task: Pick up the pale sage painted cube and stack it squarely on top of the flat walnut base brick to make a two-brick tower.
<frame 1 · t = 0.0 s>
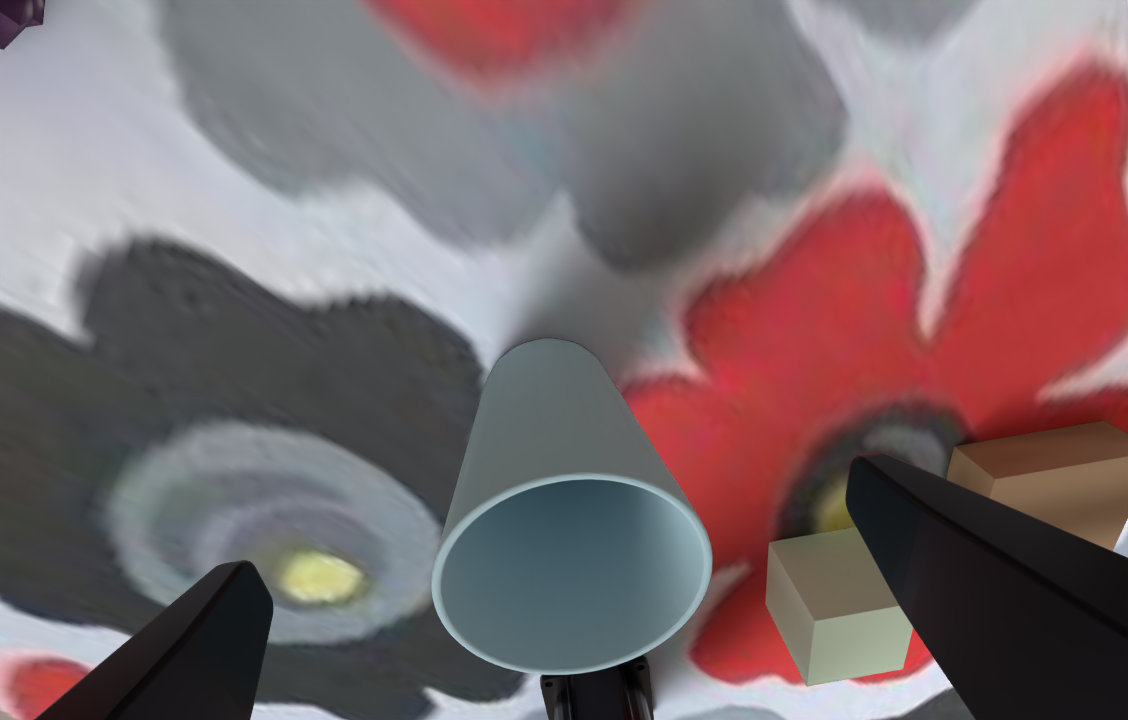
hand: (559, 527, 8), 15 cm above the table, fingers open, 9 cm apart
cup: (547, 391, 24), on the table
sage cube: (809, 565, 31), on the table
base brick: (1004, 488, 30), on the table
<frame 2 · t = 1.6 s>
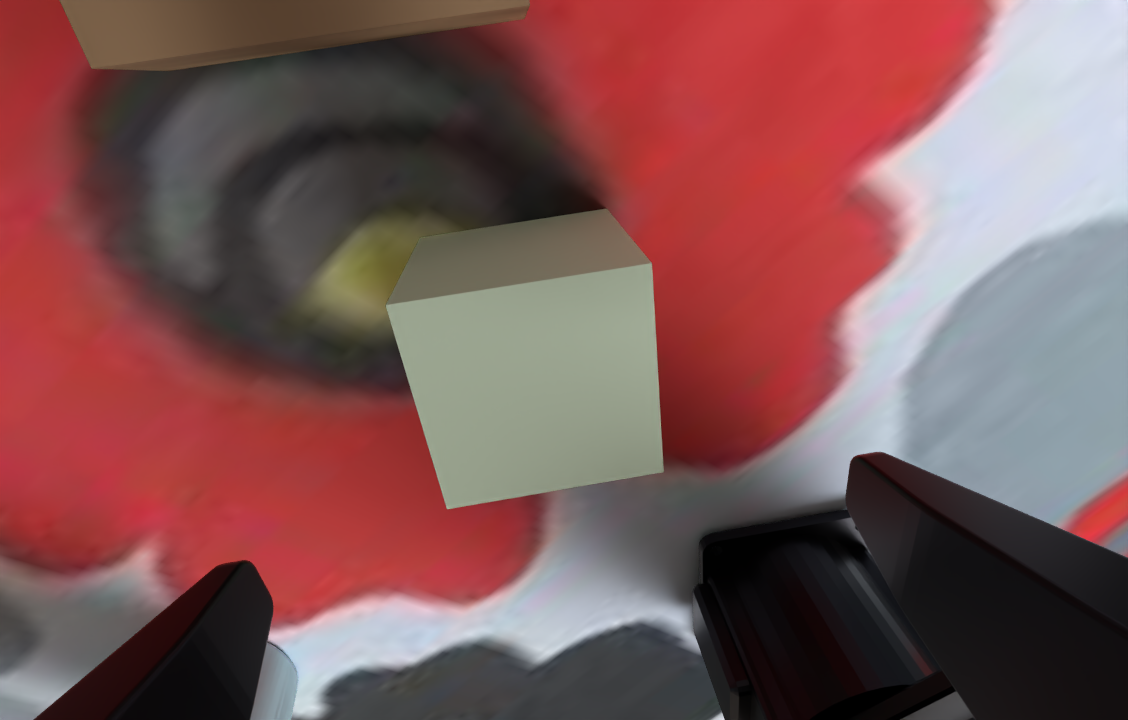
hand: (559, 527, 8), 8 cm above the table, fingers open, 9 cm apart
cup: (226, 671, 21), on the table
sage cube: (528, 308, 16), on the table
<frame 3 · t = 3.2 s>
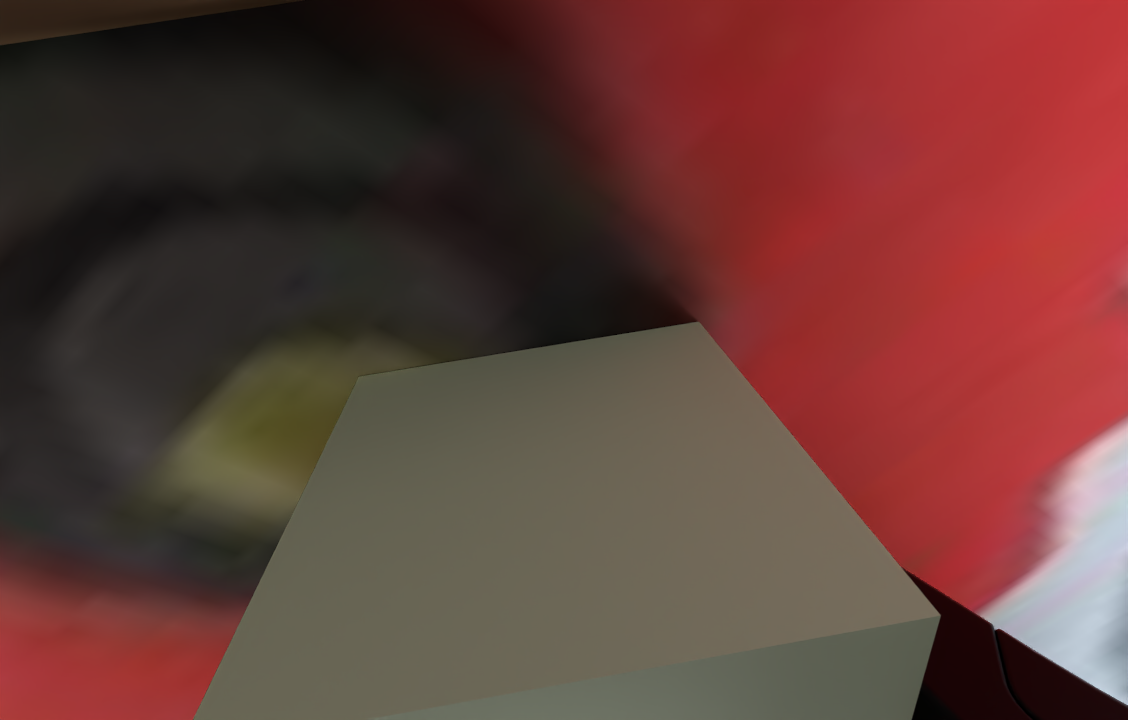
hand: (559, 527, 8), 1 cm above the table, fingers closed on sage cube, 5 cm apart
sage cube: (554, 482, 9), on the table, touching gripper
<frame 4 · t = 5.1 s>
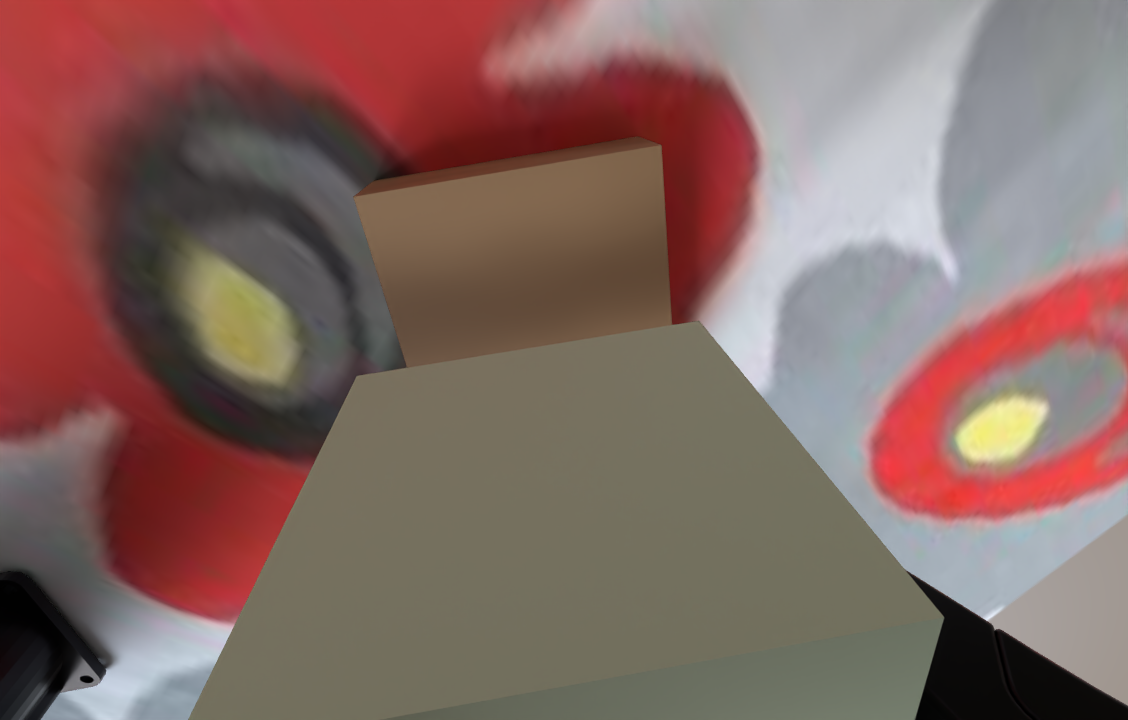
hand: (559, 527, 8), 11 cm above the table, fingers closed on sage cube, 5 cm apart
sage cube: (553, 482, 9), point 10 cm above the table, touching gripper
base brick: (529, 280, 19), on the table
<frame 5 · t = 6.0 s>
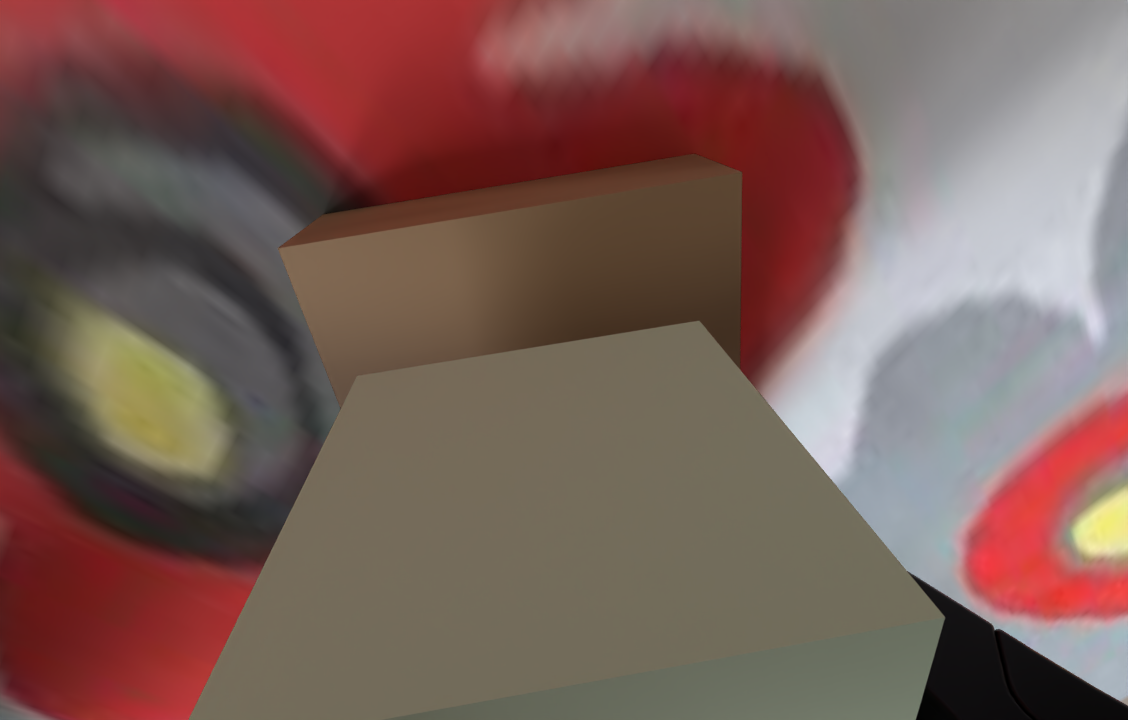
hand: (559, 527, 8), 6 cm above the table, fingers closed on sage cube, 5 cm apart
sage cube: (553, 482, 9), point 5 cm above the table, touching gripper
base brick: (539, 343, 14), on the table
when the fingers open (5 cm above the table, at t = 6.9 s): sage cube drops 2 cm, resting on base brick.
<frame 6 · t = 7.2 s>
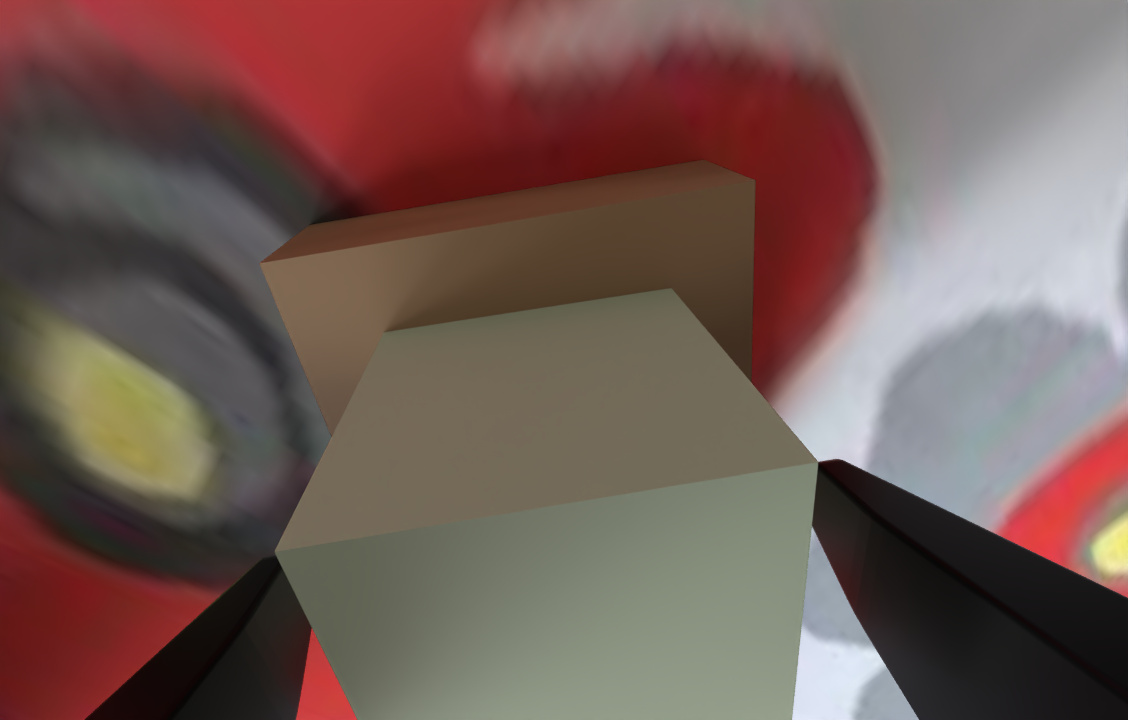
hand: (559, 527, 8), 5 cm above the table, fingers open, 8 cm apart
sage cube: (548, 430, 11), point 3 cm above the table, touching base brick
base brick: (539, 357, 13), on the table, touching sage cube
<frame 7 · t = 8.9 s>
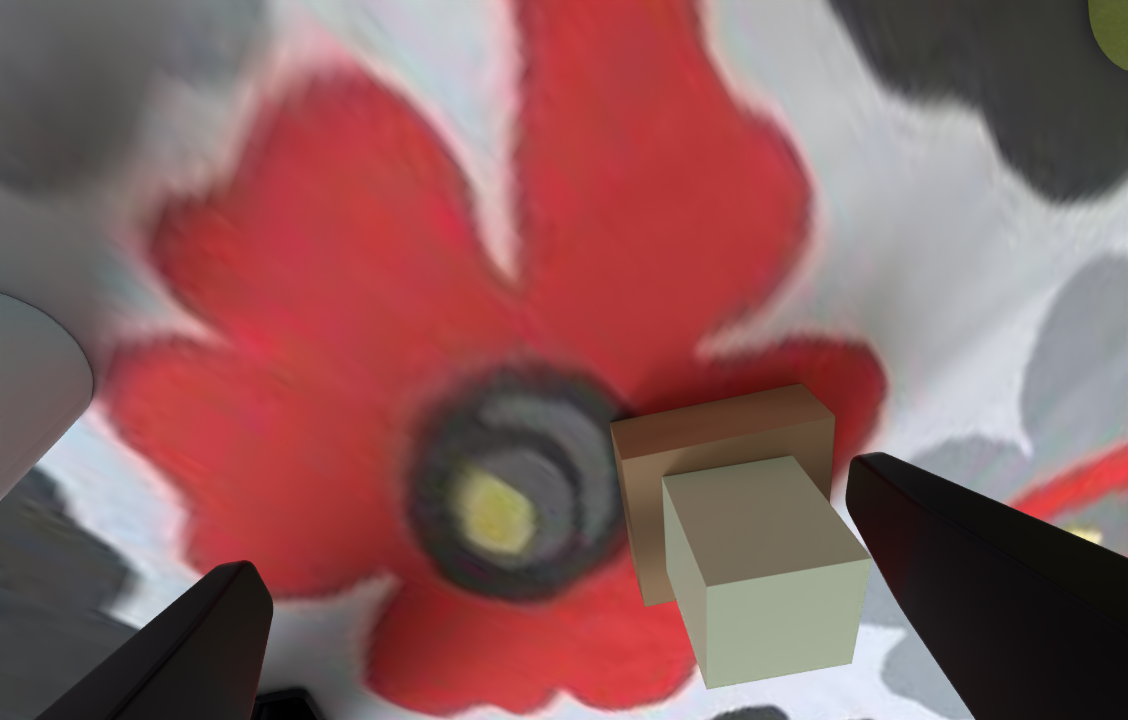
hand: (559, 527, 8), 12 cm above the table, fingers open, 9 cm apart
cup: (7, 361, 19), on the table
sage cube: (726, 516, 22), point 2 cm above the table
base brick: (707, 472, 25), on the table
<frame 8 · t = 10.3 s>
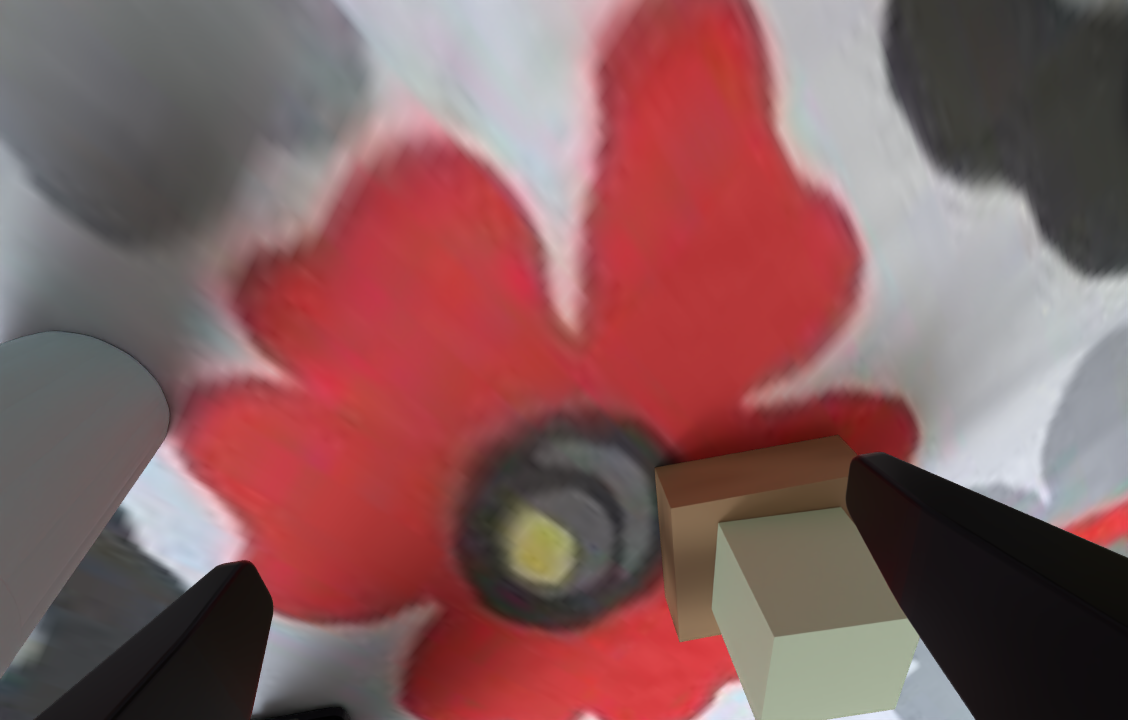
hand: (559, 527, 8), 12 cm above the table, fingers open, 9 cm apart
cup: (88, 398, 19), on the table
sage cube: (773, 560, 23), point 2 cm above the table
base brick: (741, 513, 26), on the table
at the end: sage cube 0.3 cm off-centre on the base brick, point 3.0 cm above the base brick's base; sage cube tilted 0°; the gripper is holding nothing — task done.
